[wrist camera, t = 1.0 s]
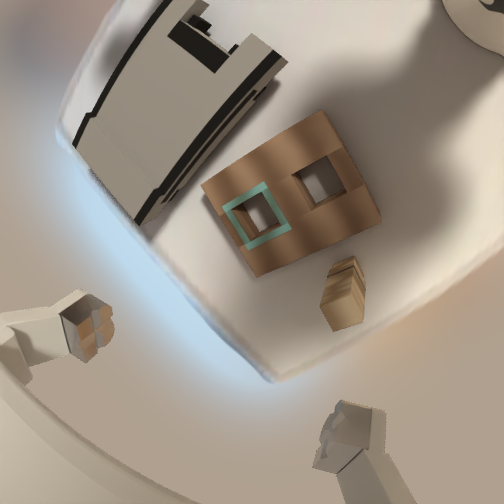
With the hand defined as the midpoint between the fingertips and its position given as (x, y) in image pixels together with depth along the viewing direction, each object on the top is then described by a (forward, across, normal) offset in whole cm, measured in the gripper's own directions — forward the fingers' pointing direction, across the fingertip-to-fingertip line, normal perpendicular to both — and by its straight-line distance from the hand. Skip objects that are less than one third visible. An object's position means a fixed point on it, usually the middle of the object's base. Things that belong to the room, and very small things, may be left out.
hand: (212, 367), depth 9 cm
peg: (+36, -7, +12) cm, 39 cm away
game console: (+37, +25, -7) cm, 45 cm away
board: (+36, +4, +3) cm, 37 cm away
